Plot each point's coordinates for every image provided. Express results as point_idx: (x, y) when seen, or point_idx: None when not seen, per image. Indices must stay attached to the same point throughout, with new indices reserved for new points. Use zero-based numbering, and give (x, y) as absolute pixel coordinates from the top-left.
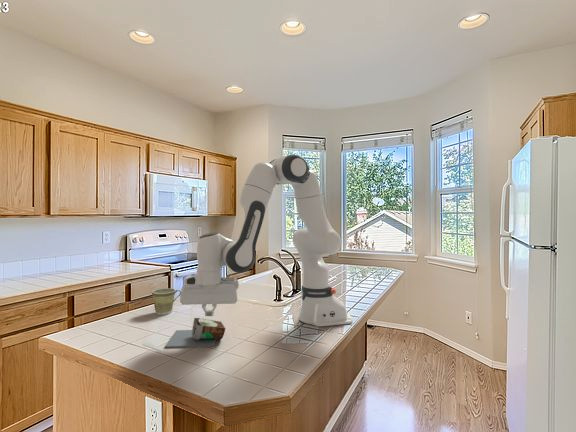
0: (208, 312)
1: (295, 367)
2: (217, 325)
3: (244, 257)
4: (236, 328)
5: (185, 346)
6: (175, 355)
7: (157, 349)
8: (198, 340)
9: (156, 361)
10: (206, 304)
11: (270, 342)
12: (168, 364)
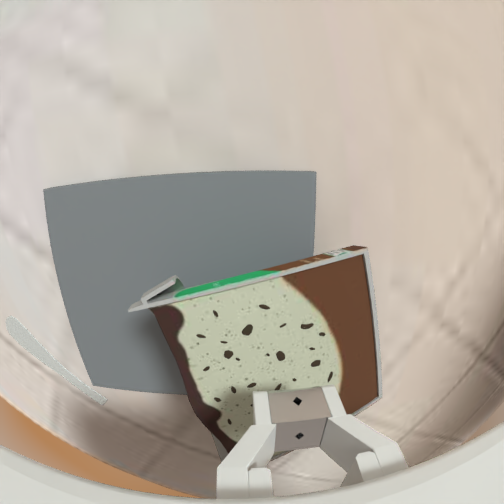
0: (290, 443)
1: (464, 431)
2: (341, 383)
3: None
4: (414, 146)
5: (174, 391)
6: (167, 431)
7: (79, 387)
8: None
9: (130, 447)
10: (271, 485)
11: (490, 328)
12: (175, 463)
